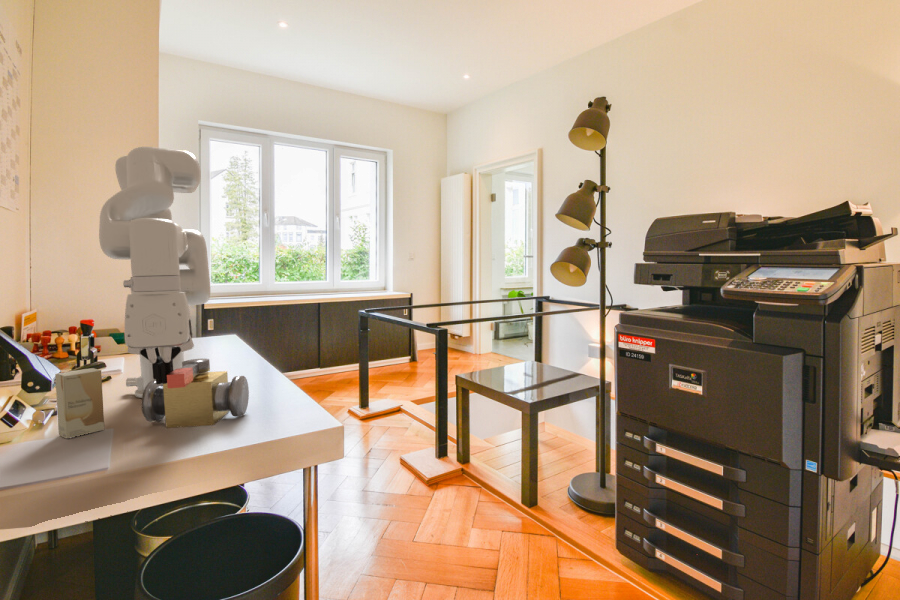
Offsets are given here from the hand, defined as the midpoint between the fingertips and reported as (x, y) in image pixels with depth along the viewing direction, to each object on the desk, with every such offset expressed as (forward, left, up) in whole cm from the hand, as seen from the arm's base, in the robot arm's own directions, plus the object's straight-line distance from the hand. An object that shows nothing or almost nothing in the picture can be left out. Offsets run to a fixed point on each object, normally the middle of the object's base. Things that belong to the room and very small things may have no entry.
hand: (163, 382), depth 85 cm
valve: (+2, +9, -10) cm, 14 cm away
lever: (+3, +4, 0) cm, 5 cm away
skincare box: (-18, +5, -11) cm, 21 cm away
